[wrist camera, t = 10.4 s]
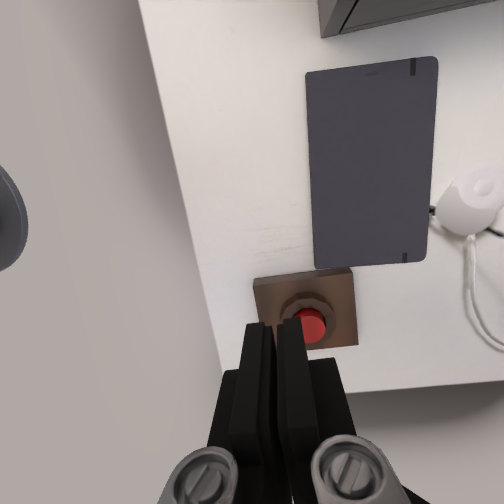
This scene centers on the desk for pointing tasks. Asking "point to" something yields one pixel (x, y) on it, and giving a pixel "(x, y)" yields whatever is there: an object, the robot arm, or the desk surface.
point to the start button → (311, 325)
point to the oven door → (333, 15)
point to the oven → (397, 11)
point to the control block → (311, 303)
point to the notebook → (371, 161)
